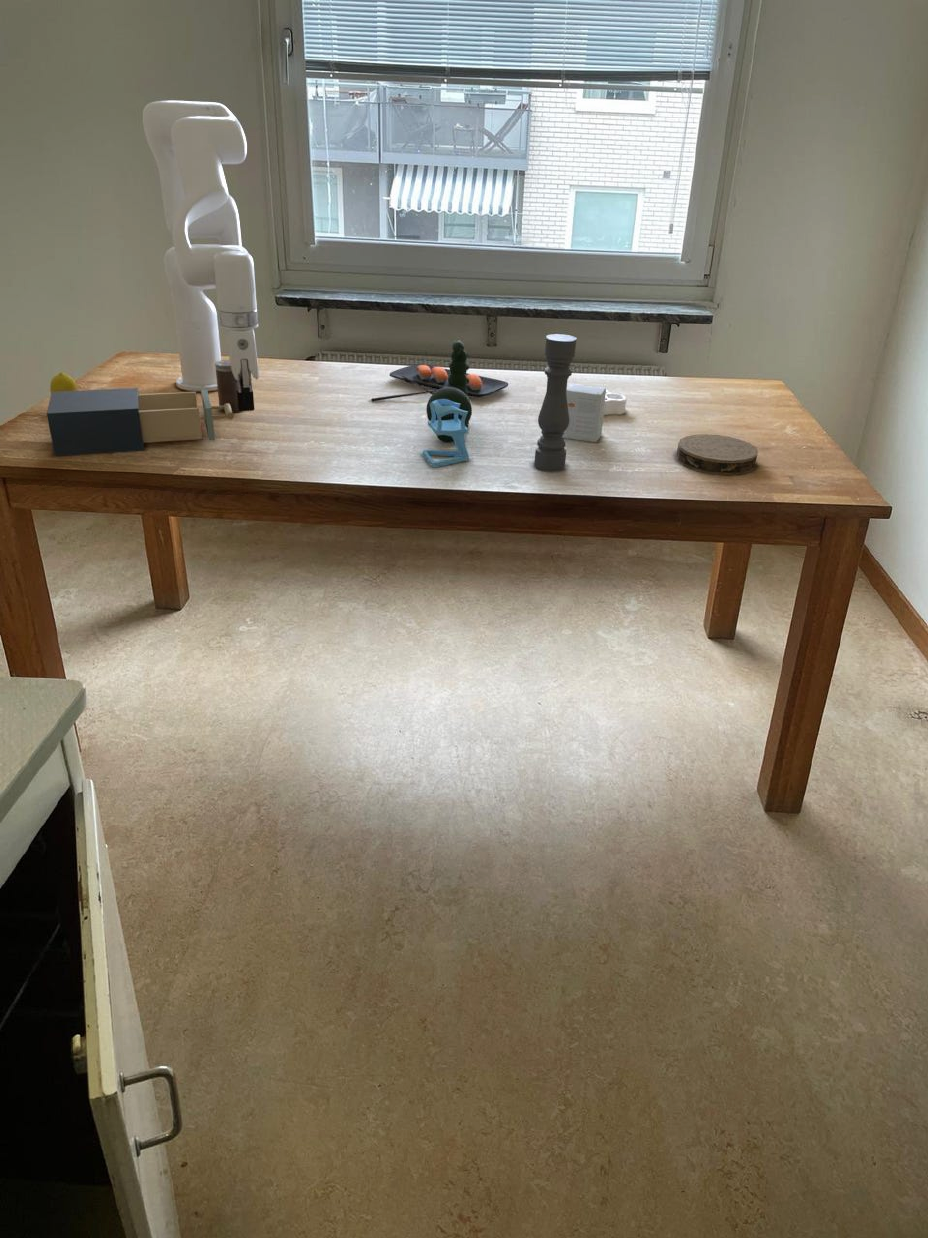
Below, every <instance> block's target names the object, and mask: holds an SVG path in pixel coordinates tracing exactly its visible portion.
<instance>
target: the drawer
mask: <svg viewBox="0 0 928 1238" xmlns="http://www.w3.org/2000/svg"><path fill="white" fill-rule="evenodd" d="M196 392H197V391H179V392H178V391H176V392H159V393H158V392H156V393H139V394H138V402H139V415H140V422H141V429H142V436H143V443H144V444H145V443H159V442H160V443H161V442H176V441H177V442H178V441H193V440H194V441H195V440H203V433H202V432H203V431H202V422H201V414H200V413H201V412H200V408H199V407H198V403H197V394H196ZM200 393H201V403H202V411H203V418H204V419H203V421H204V425H205V430H206V434H207V438H208V441H209V442H210V441H212V442H213V441H216V435H215V426H214V420H215V419H227V420H228V421H232V420H233V419H234V417H235V416H234V413H233V412H232V409H231V406H230V404H228V403H226V404H224V406H219V405H212V404H211V400H210V397H209V391H207V389H206V390H201V391H200ZM220 409H224V410H225V413H224V414H223V413H222V414H213V411H214V410H220Z"/></svg>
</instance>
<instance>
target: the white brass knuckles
mask: <svg viewBox="0 0 928 1238" xmlns="http://www.w3.org/2000/svg"><path fill="white" fill-rule="evenodd" d="M626 406H627V397H626V396H625V395H624V394H621V393H615V392H611V391H609V390H608V389H607V388H606V396H605V405H604V415H603V417H604V416H607V415H619V416H620V415H624V413H626Z"/></svg>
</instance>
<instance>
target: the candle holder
mask: <svg viewBox="0 0 928 1238" xmlns="http://www.w3.org/2000/svg"><path fill="white" fill-rule="evenodd" d="M544 348H545V349H544V355H545V360H546V362H547V365H548V366H547V367H546V368H544V375H546V378H547V381H546V392H545V394H544V399H543V401H542V404H541V408H540V411H539V414H538V417H537V418H538V419H537V423H538V424H537V425H538V426H539V429H540V430H541V432H540V433H541V434H542V435H541V436H540V437H539V438H538V439H537V443H536V444H537V446H536V447H535V451H534V463H533V466H534V467H535V468H536V469H538V470H540V471H545V472H560V471H563V470H564V469H565V468H566V459H567V449H566V446H567V442H566V441H565V438H563V437H562V436H563V435H564V431H565V430H566V429H567V427H568V425H569V412H568V404H567V396H566V390H567V388H568V380H569V377H571V376H572V374H573V371H572V369H571V368H570V366H571V364H572V363H573V362H574V358H575V357H576V348H577V337H575V336H573V335H569V334H562V333H561V334H559V333H558V334H557V333H556V334H554V333H553V334H548V335H546V337H545V347H544Z"/></svg>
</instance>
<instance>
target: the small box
mask: <svg viewBox="0 0 928 1238" xmlns="http://www.w3.org/2000/svg"><path fill="white" fill-rule="evenodd" d="M606 389H607V388H606V387H601V386H592V385H583V384H576V383H571V384H569V386H567V390H566V396H567V404H568V412H569V425H568V427H567V429H566V430H565V431H564V435H563V436H562V437H563V438H564V439H570V440H575V441H576V440H577V441H582V442H583V441H585V442H591V443H597V442H598V440H600V437H601V436H602V433H603V424H604V416H605V415H604V405H605V396H606ZM603 415H604V416H603Z"/></svg>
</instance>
